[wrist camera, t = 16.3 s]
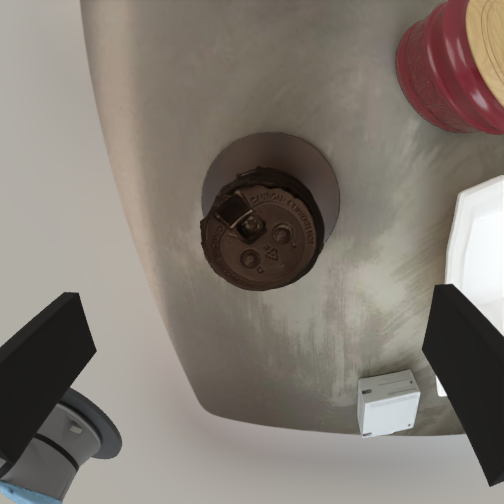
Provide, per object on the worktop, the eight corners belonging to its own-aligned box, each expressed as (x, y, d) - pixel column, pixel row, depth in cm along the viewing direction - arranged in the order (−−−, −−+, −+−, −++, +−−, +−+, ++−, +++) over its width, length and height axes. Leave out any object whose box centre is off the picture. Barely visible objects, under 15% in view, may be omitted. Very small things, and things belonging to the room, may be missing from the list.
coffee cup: (224, 159, 31) (189, 171, 19) (309, 157, 30) (329, 167, 18) (229, 243, 34) (201, 302, 22) (309, 243, 33) (325, 302, 21)
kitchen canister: (371, 37, 26) (444, -38, 10) (458, 15, 23) (549, -33, 7) (423, 148, 30) (533, 165, 13) (503, 116, 27) (611, 121, 10)
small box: (411, 367, 39) (422, 391, 34) (404, 405, 41) (413, 429, 36) (357, 377, 40) (364, 403, 35) (355, 414, 42) (361, 440, 37)
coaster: (209, 267, 36) (208, 269, 35) (197, 138, 31) (195, 138, 31) (337, 263, 35) (339, 266, 34) (336, 131, 30) (338, 130, 29)
